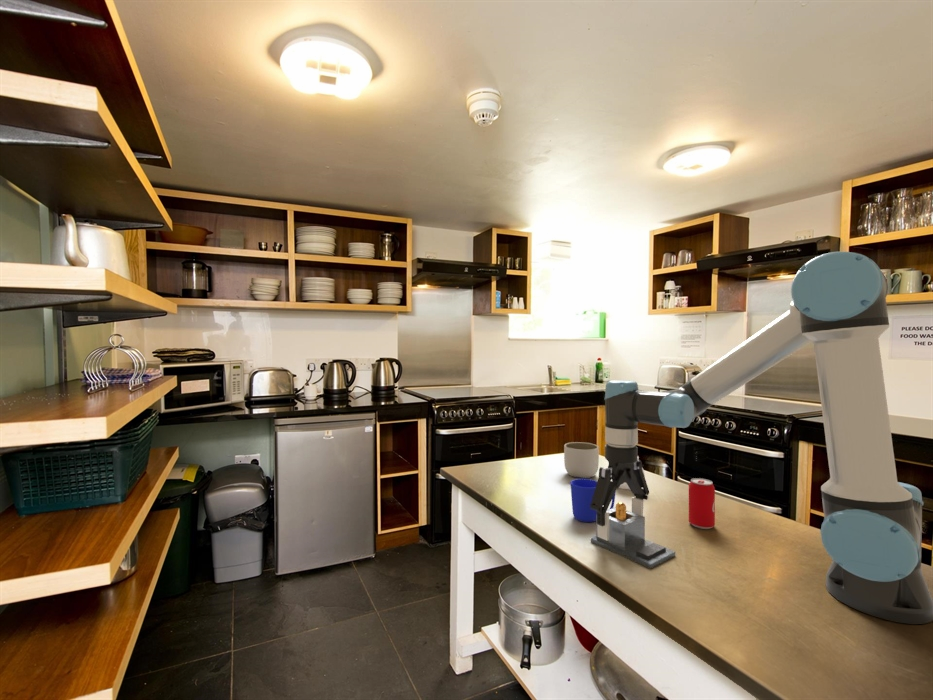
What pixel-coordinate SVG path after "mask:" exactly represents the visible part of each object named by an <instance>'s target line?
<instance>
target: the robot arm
mask: <svg viewBox="0 0 933 700" xmlns="http://www.w3.org/2000/svg"><path fill="white" fill-rule="evenodd" d="M790 289H791V291H790V293H791V299H792V301H791V302H790V305H789V309H788V310H787V311H786V312H784V313H783V314H781V315H780V316H778V317H777V318H776V319H774V320H773V321H772V322H770V323H769V324H767V325H766V326H765V327H763V328H762V329H760V330H759V331H757V332H756V333H754V334H753V335H752V336H750V337H749V338H747V339H746V340H744V341H743V342H742V343H740V344H739V345H737V346H736V347H734V348H733V349H732V350H730V351H729V352H728V353H726V354H724V355H723V356H722V357H721V358H719V359H717V360H716V361H715V362H714V363H712V364H710V365H709V366H707V367H706V368H705V369H704V370H702V371H700V372H699V373H698V374H697V375H695V376H693V377H692V378H691V379H689V380H687V381H686V382H685V383H684V384H682V385H681V386H679V387H678V388H675V389H671V390H670V389H669V390H665V391H651V390H650V391H649V390H647V391H646V390H641V389H639V386H638V385H639V384H638V382H637V381H634V380H624V379H623V380H621V379H620V380H619V379H617V380H616V379H615V380H614V379H613V380H608V381H607V382H606V383H605V391H604V393H605V394H604V397H603V398H604V412H605V413H604V418H605V420H604V421H605V422H604V426H605V429H604V430H605V431H604V432H605V433H604V435H605V436H604V441H605V445H604V458H605V460H606V461H607V462H608V466H607V468H605V467H604V466H603V467H601V466H600V467H599V468H598V477H597V480H596V481H597V484H596V488H595V491H594V494H593V498H592V501H591V505H590V508H591V509H593V510H596V511H597V524H598V537H600V538H602V539H604V540H607V541H608V540H609V512H607V510H609V508H610V506H611V503H612V498H613V496H614V493H615V494H616V491H617V489H620V488H619V487H620V485H621V484H623V483H624V482H625V483H627V485H628V486H629V488H630V490H629V491H631V493H632V495H633V496H631V512H632V513H635V514H638V515H641V516H644V500H646V501H647V500H648V498H649V494H650V489H649V486H648V483H647V480H646V476H645V477H644V473H645V472H644V473H643V470H644V469H643V470H642V468H643V463H642V460H640V459H639V455H638V453H639V452H638V451H639V450H638V447H637V445H638V443H639V437H638V436H639V433H638V432H639V430H638V428H639V427H638V426H639V425H638V423H640V424H641V423H643V424H648V425H655V426H662V427H663V426H664V427H668V428H672V429H673V428H682V429H685V428H688V427H689V426H690V425H691V423H692V422H693V419H695V418H697V417H699V416H701V415H703V413H704V412H706V411H707V409H709V408H710V407H711V406H713V405H715V404H716V403H718V402H719V401H721V400H723V399H724V398H725V397H727V396H729V395H730V394H732V393H734V392H735V391H736V390H739V389H740V388H741V387H743V386H745V384H748V383H749V382H750V381H753V379H755V378H757V377H758V376H761V374H763V373H765V372H766V371H768V370H769V369H771V368H772V367H774V366H776V365H777V364H779V363H780V362H782V361H783V360H785V359H787V358H789V356H791V355H793V354H795V353H796V352H798V351H799V350H800V349H802V348H804V347H806V346H807V345H809V344H811V343H812V344H813V347H814V348H813V349H814V357H815V363H816V372H817V382H818V387H819V388H818V389H819V397H820V404H821V413H822V421H823V428H824V429H823V430H824V436H825V437H824V438H825V446H826V453H827V461H828V468H829V469H828V470H829V479H828V480H827V481H826V482H824V483H823V484H822V485H821V486H820V491H821V499H822V502H821V503H822V509H823V516H824V517H823V520H822V521H823V522H822V523H821V525H820V526H821V528H820V539H821V543H822V546H823V548H824V550H825V551H826V553H827V555H828V556H829V557H830V558H831V559H832V561H831V563H830V566H829V568H828V570H827V572H826V576H825V579H826V580H825V587H826V590H827V591H828V592H829V594H830V595H831V596H833V597H834V598H835V599H837V600H838V601H839V602H841V603H843V604H845V605H847V606H848V607H851V608H852V609H855V610H857V611H860V612H862V613H864V614H867V615H870V616H872V617H875V618H879V619H882V620H885V621H890V622H894V623H900V624H906V625H907V624H910V625H924V624H928V623H931V622H933V597H932V594H931V592H930V590H929V587H928V584H927V582H926V579H925V576H924V575H923V571H922V535H923V534H922V533H923V531H922V529H923V528H922V527H923V525H922V524H923V506H924V501H923V498H922V497H923V496H922V491H921V490H920V489H919V488H918V487H916V485H915V486H914V485H912V484H909V483H904V482H900V481H898V476H897V468H896V461H895V453H894V446H893V438H892V437H893V436H892V431H891V422H890V416H889V409H888V408H889V407H888V402H887V399H888V398H887V394H886V386H885V378H884V370H883V363H882V355H881V347H880V342H879V341H880V340H879V338H880V336H881V335H882V334H884V333H885V332H886V331H887V330H888V329H889V328H890V323H889V322H890V321H889V313H888V305H887V295H888V291H889V284H888V280H887V277H886V276H885V274H884V272H883V271H882V270H881V268H880V267H879V266H878V264H877V263H876V262H875V261H874V260H873V259H871V258H869V257H868V256H866V255H864V254H861V253H858V252H852V251H851V252H850V251H831V252H828V253H823V254H820V255H817V256H815V257H814V258H811V259H810V260H809V261H807V262H806V263H804V264H803V265H802V266H801V267H800V268H799V269H798V271H797V272H796V274H795V275H794V277H793V279H792V283H791V287H790Z"/></svg>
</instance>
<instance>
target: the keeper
mask: <svg viewBox="0 0 933 700" xmlns="http://www.w3.org/2000/svg"><path fill="white" fill-rule="evenodd" d="M615 507H616V519H619V520H622V521H624V520H626V511H627V506H626V504H625V503H624V502H621V501H619V502H617V503H616V505H615ZM590 543H592V544H595V545H597V546H599V547H600V548H603V549H605V550H607V551H610V552H612V553H614V554H616V555H619V556H621V557H623V558H625V559H627V560H630V561H632V562H634V563H637V564H638V565H641V566H643V567H645V568H648V569H649V570H652V569H653V568H655V567H657V566H659V565H661V564H663V563H664V562H666V561H668V560H670V559H672V558H674V557H676V551H675V550H673V549H671V548H668V547H665V546H663V545H661V544H658V543H655V542H652V541H649V540H647V539H645V542H642V543H640V544H638V545H636V546H634V547H632V548H629V549H627V550H625V551H624V550H622V549H620V548H618V547H615V546H613V545H611V544H608V543H606V542H604V541H601V540H599V539H597V538H596V536H593V537H591V538H590Z"/></svg>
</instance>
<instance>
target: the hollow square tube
mask: <svg viewBox="0 0 933 700" xmlns="http://www.w3.org/2000/svg"><path fill="white" fill-rule="evenodd" d="M607 512H609V540H608V541H607V540H604V539H602V538H600V537H598V524H597V514H596V520H595V521H596V524H595V525H596V528H595V529H596V530H595V532H596V533H595V535H596V538H597V539H599V540H601V541H604V542H606V543H608V544H611V545H613V546H615V547H618V548H620V549H622V550H624V551H625V550H627V549H629V548H632V547H634V546H636V545H638V544H640V543H642V542H645V540H646V535H645V531H646V530H645V529H646V528H645V527H646V526H645V525H646V523H645V522H646V517H645V516H644V515H643V516H641V515H638V514H635V513H632V511H629V510H626V520H624V521H622V520H619V519H616V506H614V507H613V508H612V509H610V508H608V509H607Z"/></svg>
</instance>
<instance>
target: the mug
mask: <svg viewBox="0 0 933 700" xmlns="http://www.w3.org/2000/svg"><path fill="white" fill-rule="evenodd" d="M597 481H598V480H594V479H589V478H576V479H575V478H574V479H572V480H570V493H571V494H570V495H571V507H572V508H571V509H572V515H573V518H574V519H575V520H577V521H579V522H582V523H591V522H595V521H596V514H597V511H596V510H593V509H591V508H590V505H591V501H592V498H593V494H594V491H595V488H596V484H597ZM615 502H616V492H615V493H614V496H613V498H612V500H611V502H610V506H609V509H612V508H615Z"/></svg>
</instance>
